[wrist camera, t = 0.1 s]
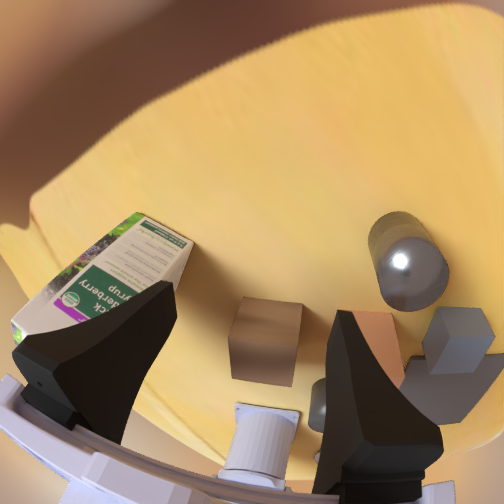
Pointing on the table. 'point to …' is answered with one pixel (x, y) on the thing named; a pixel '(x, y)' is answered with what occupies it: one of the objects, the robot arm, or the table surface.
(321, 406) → the charcoal cylinder
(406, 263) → the dark steel can
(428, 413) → the charcoal mat
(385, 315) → the terracotta block
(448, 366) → the slate blue block
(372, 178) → the table surface
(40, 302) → the syrup box
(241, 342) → the walnut block
